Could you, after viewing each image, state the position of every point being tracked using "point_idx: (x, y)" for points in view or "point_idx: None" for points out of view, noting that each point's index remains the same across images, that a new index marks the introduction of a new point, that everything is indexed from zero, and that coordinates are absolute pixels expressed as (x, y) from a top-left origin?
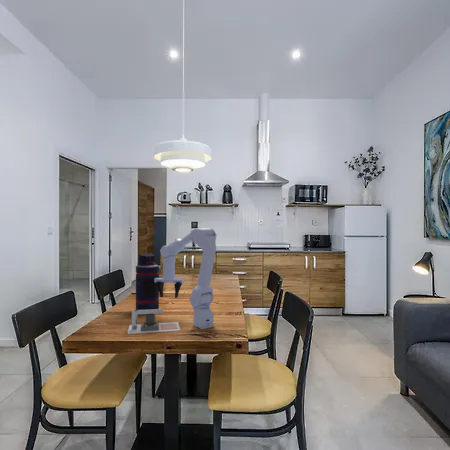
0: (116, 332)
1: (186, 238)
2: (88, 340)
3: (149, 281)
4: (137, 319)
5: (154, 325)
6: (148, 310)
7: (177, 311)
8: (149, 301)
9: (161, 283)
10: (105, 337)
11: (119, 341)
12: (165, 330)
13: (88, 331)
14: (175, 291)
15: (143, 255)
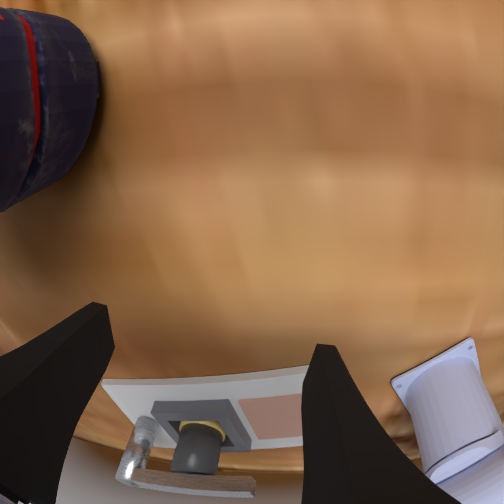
0: (103, 414)
1: None
2: (84, 438)
3: None
4: (148, 452)
5: (224, 438)
6: (185, 493)
7: (282, 54)
8: (6, 204)
9: (23, 492)
10: (105, 435)
11: (161, 460)
12: (280, 443)
13: None
14: (309, 471)
15: None
